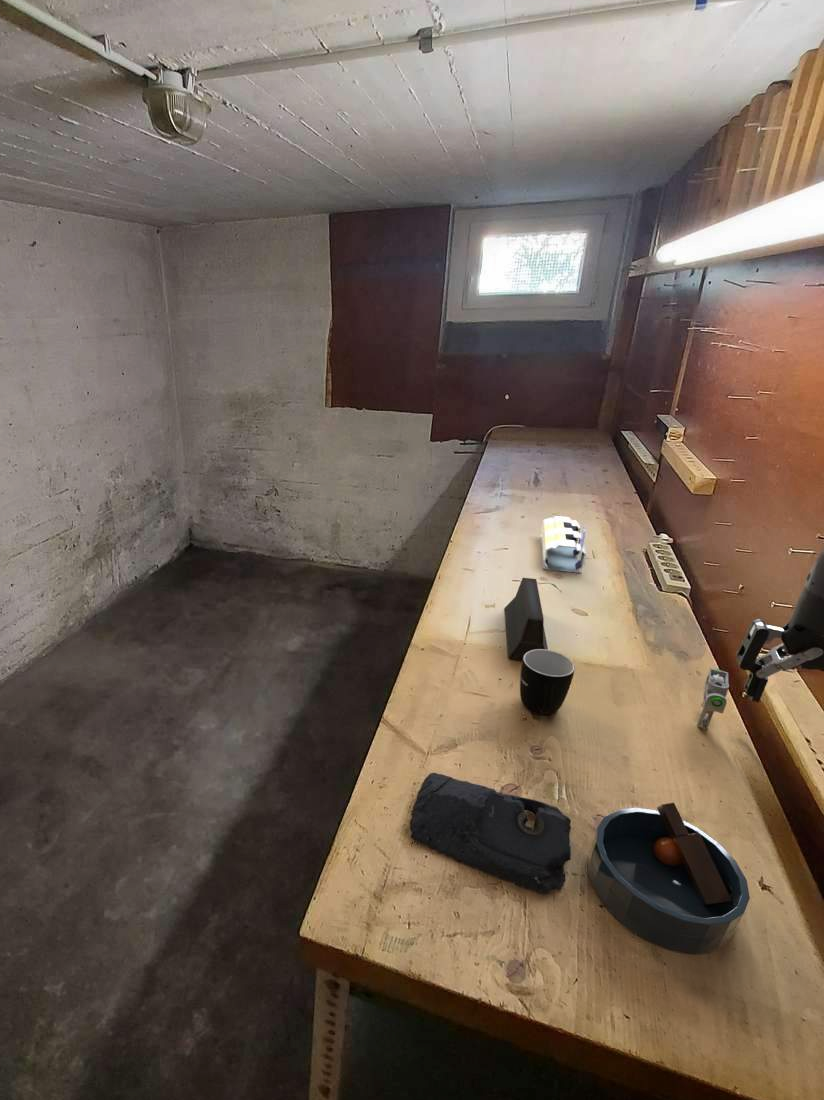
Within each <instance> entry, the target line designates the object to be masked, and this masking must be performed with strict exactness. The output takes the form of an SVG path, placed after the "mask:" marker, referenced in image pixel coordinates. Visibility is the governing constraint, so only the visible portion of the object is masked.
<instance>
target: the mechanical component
mask: <svg viewBox="0 0 824 1100" xmlns="http://www.w3.org/2000/svg"><path fill="white" fill-rule="evenodd" d="M729 688H730V683H729V672H727V671H723V670H722V669H720V668H711V667H709V669H708V672H707V675H706V678H705V680H704V685H703V693H702V694H703V696H702V697H703V699H702V701H701V703H700V705H701V707H702V710H701V714H700V716H699V719H698V721H697V724H696V726H697V728H701V727H702V728H703V729H704V730H708V728H709V725H710V723H711V720H712V717H713V715H714V712H716V713H719V714H724V712H725V708H726V706H727V704H728V703H727V700H728V699H727V698H726V697H727V694H728V691H729ZM706 715H707V716H706Z"/></svg>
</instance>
